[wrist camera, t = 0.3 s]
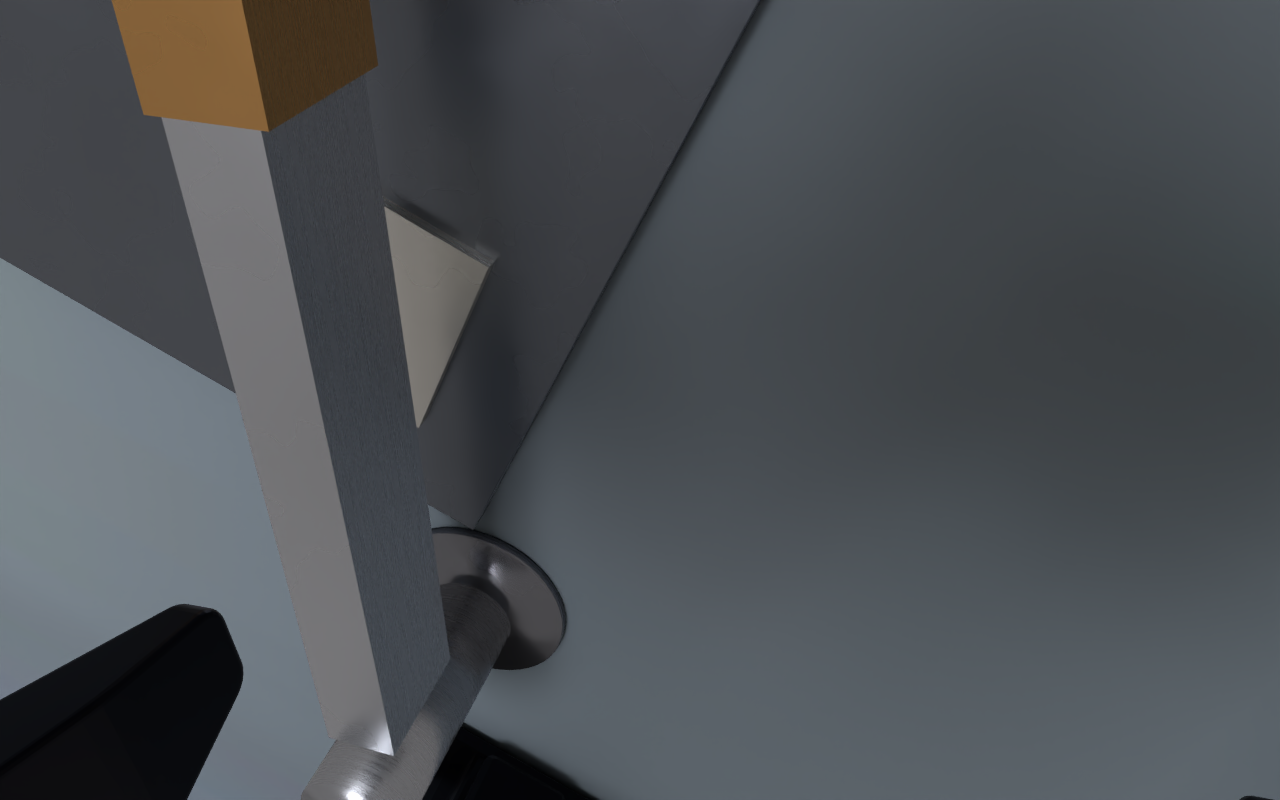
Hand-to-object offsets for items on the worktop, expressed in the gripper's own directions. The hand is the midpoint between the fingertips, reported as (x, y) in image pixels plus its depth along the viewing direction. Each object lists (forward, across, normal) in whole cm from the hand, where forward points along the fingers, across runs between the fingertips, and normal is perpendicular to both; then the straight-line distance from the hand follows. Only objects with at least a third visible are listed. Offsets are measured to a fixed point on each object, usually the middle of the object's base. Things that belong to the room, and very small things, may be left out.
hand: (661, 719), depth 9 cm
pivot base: (+12, +9, +12) cm, 20 cm away
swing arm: (+11, +9, +4) cm, 15 cm away
